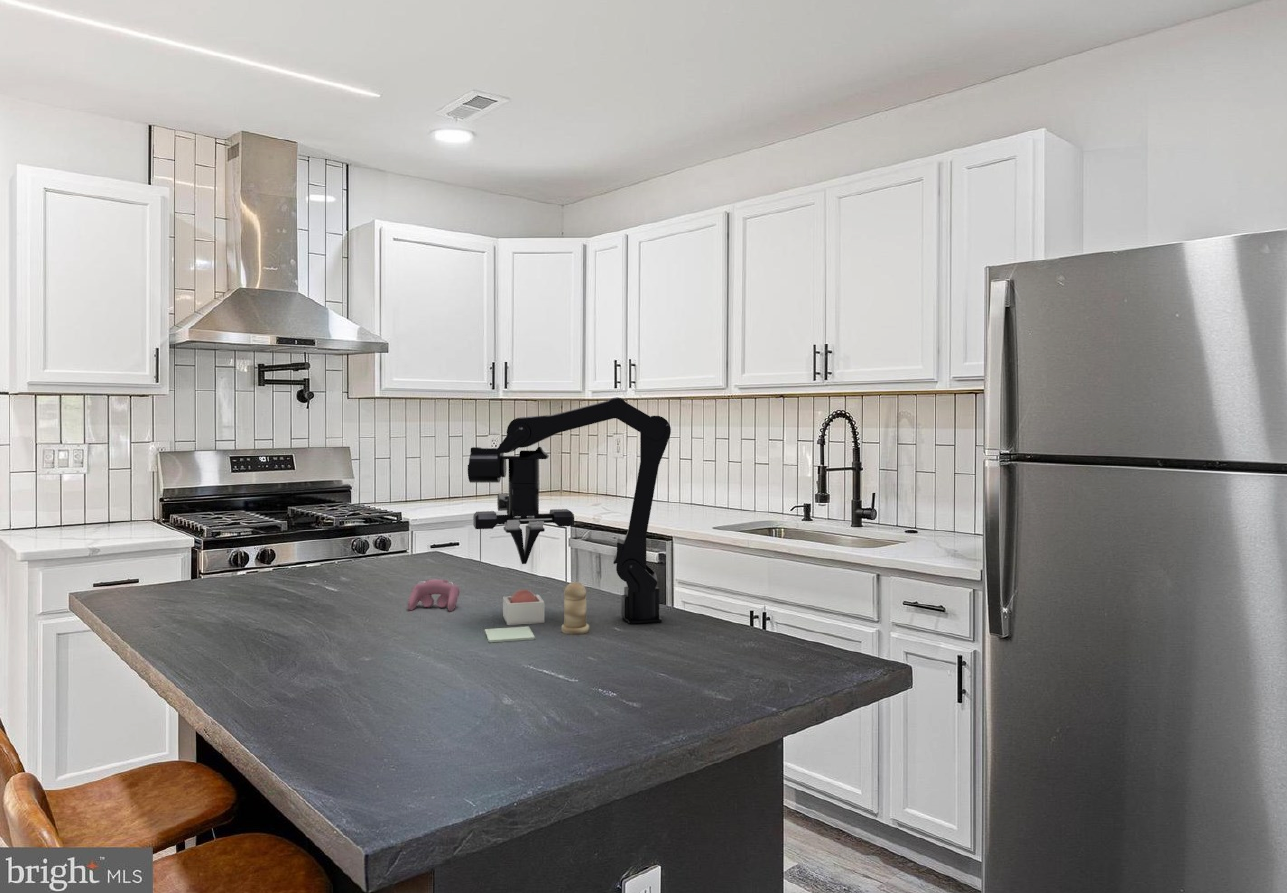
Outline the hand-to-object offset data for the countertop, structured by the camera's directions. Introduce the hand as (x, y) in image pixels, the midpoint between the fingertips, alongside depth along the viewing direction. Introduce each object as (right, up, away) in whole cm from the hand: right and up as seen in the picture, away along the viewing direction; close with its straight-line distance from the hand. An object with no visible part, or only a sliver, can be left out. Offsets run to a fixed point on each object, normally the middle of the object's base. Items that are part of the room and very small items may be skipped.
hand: (523, 563), depth 163 cm
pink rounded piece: (0, -10, 0) cm, 10 cm away
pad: (-1, -11, -11) cm, 16 cm away
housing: (0, -11, +1) cm, 11 cm away
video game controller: (-20, -11, +11) cm, 25 cm away
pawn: (+11, -11, -8) cm, 17 cm away
